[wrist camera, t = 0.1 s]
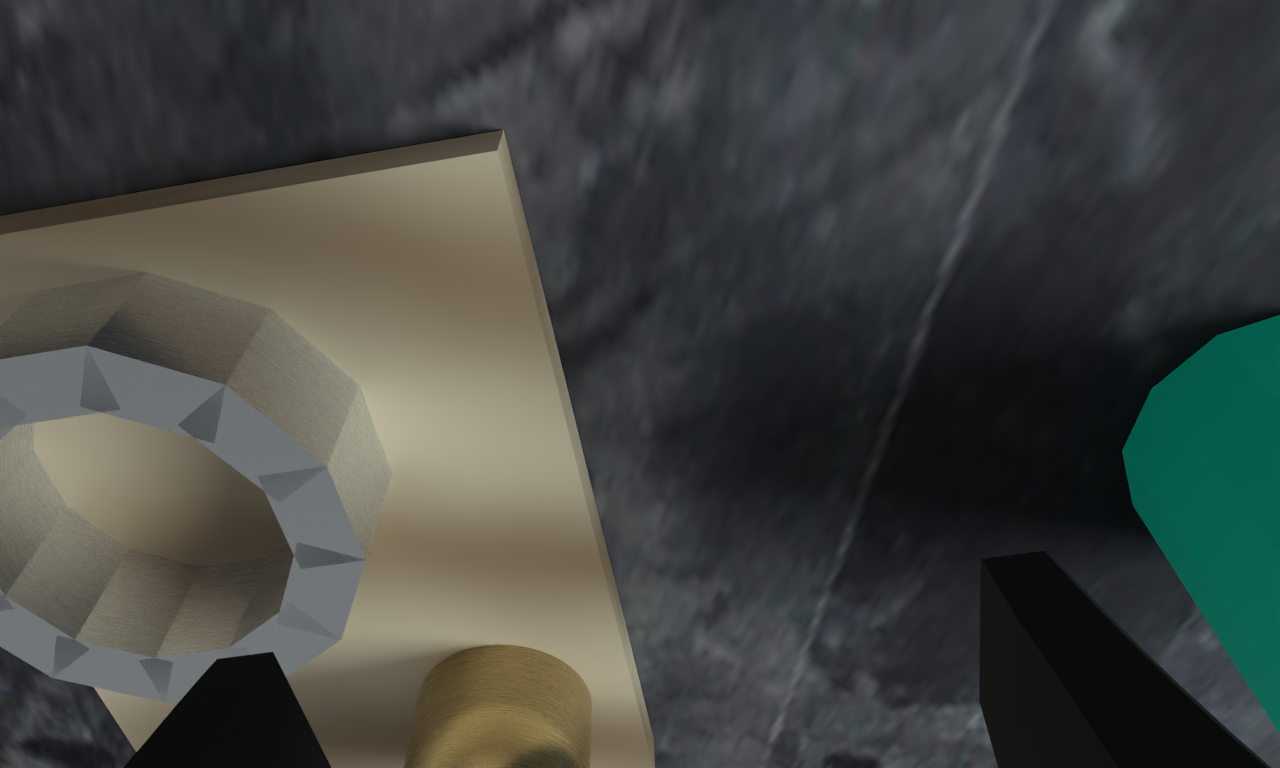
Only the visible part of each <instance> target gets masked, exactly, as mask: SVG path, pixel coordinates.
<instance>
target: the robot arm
mask: <svg viewBox="0 0 1280 768" xmlns="http://www.w3.org/2000/svg"><path fill="white" fill-rule="evenodd" d="M979 701H980V704H981V708H982V712H983V715H984V719H985V722H986V726H987V729H988V733H989V736H990V740H991V743H992V747H993V750H994V754H995V757H996V761H997V764H998V767H999V768H1271V767H1270V766H1268V765H1267V764H1266V763H1265V762H1264V761H1263V760H1262V759H1260V758H1259V757H1258V756H1257V755H1256V754H1255V753H1254V752H1253V751H1251V750H1250V749H1249V748H1248V747H1247V746H1246V745H1245V744H1243V743H1242V742H1241V741H1240V740H1239V739H1238V738H1237V737H1236V736H1234V735H1233V734H1232V733H1231V732H1230V731H1229V730H1228V729H1227V728H1226V727H1225V726H1223V725H1222V724H1221V723H1220V722H1219V721H1218V720H1217V719H1216V718H1215V717H1214V716H1213V715H1212V714H1210V713H1209V712H1208V711H1207V710H1206V709H1205V708H1204V707H1203V706H1202V705H1201V704H1200V703H1199V702H1197V701H1196V700H1195V699H1194V698H1193V697H1192V696H1191V695H1190V694H1189V693H1188V692H1187V691H1186V690H1185V689H1183V688H1182V687H1181V686H1180V685H1179V684H1178V683H1177V682H1176V681H1175V680H1174V679H1173V678H1172V677H1171V676H1170V675H1169V674H1167V673H1166V672H1165V671H1164V670H1163V669H1162V668H1161V667H1160V666H1159V665H1158V664H1157V663H1156V662H1155V661H1154V660H1153V659H1152V658H1151V657H1150V656H1149V655H1148V654H1147V653H1146V652H1145V651H1144V650H1143V649H1142V648H1141V647H1140V646H1139V645H1138V644H1137V643H1136V642H1135V641H1134V640H1133V639H1132V638H1131V637H1130V636H1129V635H1128V634H1127V633H1126V632H1125V631H1124V630H1123V629H1122V628H1121V627H1120V626H1119V625H1118V624H1117V623H1116V622H1115V621H1114V620H1113V619H1112V618H1111V617H1110V616H1109V615H1108V614H1107V613H1106V612H1105V611H1104V610H1103V609H1102V608H1101V607H1100V606H1099V605H1098V604H1097V603H1096V601H1095V600H1094V599H1093V598H1092V597H1091V596H1090V595H1089V594H1088V593H1087V592H1086V591H1085V590H1084V589H1083V588H1082V587H1081V586H1080V585H1079V584H1078V582H1077V581H1076V580H1075V579H1074V578H1073V577H1072V576H1071V575H1070V574H1069V573H1068V572H1067V571H1066V570H1065V569H1064V567H1063V566H1062V565H1061V564H1060V563H1059V562H1058V561H1057V560H1056V559H1055V558H1054V557H1052V556H1051V555H1050V554H1048V553H1047V552H1045V551H1040V552H1032V553H1025V554H1017V555H1009V556H1002V557H994V558H986V559H981V597H980V700H979ZM124 768H331V766H330V764H329V762H328V760H327V758H326V756H325V754H324V752H323V750H322V748H321V746H320V744H319V742H318V740H317V738H316V736H315V734H314V732H313V730H312V728H311V726H310V724H309V722H308V720H307V718H306V716H305V714H304V712H303V710H302V708H301V706H300V704H299V702H298V700H297V698H296V696H295V694H294V692H293V690H292V688H291V686H290V684H289V682H288V680H287V678H286V676H285V674H284V672H283V670H282V668H281V667H280V665H279V663H278V661H277V659H276V657H275V655H274V653H273V652H267V653H259V654H252V655H244V656H236V657H229V658H221V659H217V660H216V661H215V662H214V663H213V664H212V665H211V666H210V667H209V668H208V669H207V671H206V672H205V673H204V674H203V675H202V676H201V677H200V678H199V679H198V681H197V682H196V683H195V684H194V685H193V686H192V688H191V689H190V690H189V691H188V692H187V693H186V694H185V696H184V697H183V698H182V699H181V700H180V702H179V703H178V704H177V705H176V706H175V707H174V709H173V710H172V711H171V712H170V713H169V714H168V716H167V717H166V718H165V719H164V720H163V722H162V723H161V724H160V725H159V726H158V727H157V729H156V730H155V731H154V732H153V733H152V735H151V736H150V737H149V738H148V739H147V740H146V742H145V743H144V744H143V745H142V746H141V748H140V749H139V750H138V751H137V752H136V754H135V755H134V756H133V757H132V758H131V759H130V761H129V762H128V763H127V764H126V765H125V767H124Z"/></svg>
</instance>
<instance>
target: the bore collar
mask: <svg viewBox="0 0 1280 768" xmlns="http://www.w3.org/2000/svg"><path fill="white" fill-rule="evenodd" d="M95 413H105V414H109V415H112V416H116V417H120V418H123V419H127V420H131V421H134V422H138V423H142V424H145V425H149V426H153V427H156V428H160V429H164V430H167V431H171V432H175V433H179V434H182V435H186V436H190V437H193V438H195V439H196V440H198V441H199V442H200V443H202V444H203V445H204V446H206V447H207V448H208V449H209V450H211V451H212V452H213V453H215V454H216V455H217V456H219V457H220V458H221V459H223V460H224V461H225V462H227V463H228V464H229V465H230V466H232V467H233V468H234V469H236V470H237V471H238V472H240V473H241V474H242V475H244V476H245V477H246V478H247V479H249V480H250V481H251V482H253V483H254V484H255V485H257V486H258V487H259V488H261V489H262V490H263V491H264V492H265V494H266V496H267V498H268V500H269V502H270V505H271V507H272V509H273V511H274V513H275V515H276V518H277V520H278V522H279V524H280V526H281V528H282V531H283V533H284V535H285V537H286V539H287V541H288V542H287V543H286V544H285V545H283V546H282V547H281V548H279V549H278V550H277V551H275V552H274V553H273V554H271V555H270V556H269V557H267V558H261V559H254V560H246V561H239V562H232V563H225V564H218V565H211V566H204V567H199V566H195V565H191V564H187V563H183V562H179V561H175V560H171V559H167V558H163V557H159V556H155V555H151V554H147V553H143V552H139V551H135V550H131V549H128V548H127V547H125V546H124V545H122V544H121V543H119V542H118V541H116V540H115V539H113V538H112V537H111V536H109V535H108V534H106V533H105V532H103V531H102V530H100V529H99V528H97V527H96V526H95V525H93V524H92V523H90V522H89V521H87V520H86V519H84V518H83V517H81V516H80V515H79V514H77V513H76V512H74V511H73V510H71V509H70V508H68V507H67V505H66V503H65V502H64V500H63V498H62V497H61V495H60V493H59V492H58V490H57V488H56V487H55V485H54V483H53V482H52V480H51V478H50V477H49V475H48V473H47V472H46V470H45V468H44V467H43V465H42V463H41V462H40V460H39V458H38V456H37V455H36V453H35V451H34V450H33V445H34V432H35V423H36V422H43V421H49V420H56V419H62V418H69V417H76V416H82V415H89V414H95ZM391 476H392V471H391V468H390V466H389V463H388V460H387V458H386V455H385V452H384V450H383V447H382V444H381V442H380V439H379V436H378V434H377V431H376V428H375V426H374V423H373V420H372V417H371V415H370V412H369V409H368V407H367V404H366V401H365V399H364V396H363V393H362V391H361V388H360V385H359V384H358V383H357V382H355V381H354V380H353V379H352V378H351V377H350V376H348V375H347V374H346V373H345V372H344V371H343V370H341V369H340V368H339V367H338V366H337V365H336V364H334V363H333V362H332V361H331V360H330V359H329V358H328V357H326V356H325V355H324V354H323V353H322V352H321V351H319V350H318V349H317V348H316V347H315V346H314V345H312V344H311V343H310V342H309V341H308V340H307V339H305V338H304V337H303V336H302V335H301V334H300V333H298V332H297V331H296V330H295V329H294V328H293V327H291V326H290V325H289V324H288V323H287V322H286V321H284V320H283V319H282V318H281V317H280V316H279V315H277V314H276V313H275V312H274V311H273V310H272V309H270V308H267V307H263V306H260V305H257V304H253V303H250V302H247V301H243V300H240V299H237V298H233V297H230V296H227V295H223V294H220V293H217V292H213V291H210V290H207V289H203V288H200V287H197V286H193V285H190V284H187V283H183V282H180V281H177V280H173V279H170V278H167V277H163V276H160V275H157V274H153V273H150V272H148V273H142V274H136V275H130V276H124V277H117V278H111V279H105V280H99V281H93V282H87V283H81V284H75V285H69V286H63V287H57V288H51V289H44V290H38V291H35V292H34V293H33V294H32V295H31V296H30V297H29V298H28V299H27V300H26V301H25V302H24V303H23V304H22V305H21V306H20V307H19V308H18V309H16V310H15V311H14V312H13V313H12V314H11V315H10V316H9V317H8V318H7V319H6V320H5V321H4V322H3V323H2V324H1V325H0V647H2V648H4V649H5V650H7V651H9V652H10V653H12V654H14V655H15V656H17V657H19V658H20V659H22V660H24V661H25V662H27V663H29V664H30V665H32V666H34V667H35V668H37V669H39V670H40V671H42V672H44V673H45V674H47V675H49V676H50V677H52V678H55V679H60V680H64V681H69V682H73V683H78V684H82V685H87V686H91V687H96V688H100V689H105V690H110V691H114V692H119V693H123V694H128V695H132V696H137V697H141V698H146V699H150V700H155V701H159V702H164V703H168V702H175V701H180V700H181V699H182V698H183V697H184V696H185V694H186V693H187V692H188V691H189V690H190V689H191V688H192V686H193V685H194V684H195V683H196V682H197V681H198V679H199V678H200V677H201V676H202V675H203V674H204V673H205V672H206V671H207V669H208V668H209V667H210V666H211V665H212V664H213V663H214V662H215V661H216V660H217V659H221V658H229V657H236V656H244V655H252V654H259V653H267V652H273V653H274V655H275V657H276V659H277V661H278V663H279V665H280V667H281V668H282V670H283V672H284V674H285V676H286V677H287V676H289V675H290V674H292V673H293V672H295V671H296V670H297V669H299V668H300V667H302V666H303V665H305V664H306V663H308V662H309V661H311V660H312V659H314V658H315V657H316V656H318V655H319V654H321V653H322V652H324V651H325V650H327V649H328V648H330V647H331V646H333V645H334V644H335V643H337V642H338V641H340V640H341V639H342V636H343V633H344V630H345V626H346V623H347V620H348V617H349V613H350V610H351V607H352V604H353V600H354V597H355V594H356V591H357V587H358V584H359V581H360V578H361V574H362V571H363V568H364V564H365V561H366V558H367V555H368V551H369V548H370V545H371V542H372V538H373V535H374V532H375V528H376V525H377V522H378V519H379V515H380V512H381V509H382V506H383V502H384V499H385V496H386V493H387V489H388V486H389V483H390V480H391Z"/></svg>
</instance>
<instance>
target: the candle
mask: <svg viewBox="0 0 1280 768" xmlns="http://www.w3.org/2000/svg"><path fill="white" fill-rule="evenodd" d="M1122 454H1123V459H1124V464H1125V469H1126V474H1127V479H1128V484H1129V489H1130V494H1131V499H1132V504H1133V506H1134V508H1135V510H1136V511H1137V513H1138V514H1139V516H1140V517H1141V519H1142V520H1143V522H1144V524H1145V525H1146V527H1147V528H1148V530H1149V531H1150V533H1151V534H1152V536H1153V538H1154V539H1155V541H1156V542H1157V544H1158V545H1159V547H1160V548H1161V550H1162V552H1163V553H1164V555H1165V556H1166V558H1167V559H1168V561H1169V562H1170V564H1171V566H1172V567H1173V569H1174V570H1175V572H1176V573H1177V575H1178V576H1179V578H1180V580H1181V581H1182V583H1183V584H1184V586H1185V587H1186V589H1187V590H1188V592H1189V594H1190V595H1191V597H1192V598H1193V600H1194V601H1195V603H1196V604H1197V606H1198V608H1199V609H1200V611H1201V612H1202V614H1203V615H1204V617H1205V618H1206V620H1207V622H1208V623H1209V625H1210V626H1211V628H1212V629H1213V631H1214V632H1215V634H1216V636H1217V637H1218V639H1219V640H1220V642H1221V643H1222V645H1223V646H1224V648H1225V650H1226V651H1227V653H1228V654H1229V656H1230V657H1231V659H1232V661H1233V662H1234V664H1235V665H1236V667H1237V668H1238V670H1239V671H1240V673H1241V675H1242V676H1243V678H1244V679H1245V681H1246V682H1247V684H1248V685H1249V687H1250V689H1251V690H1252V692H1253V693H1254V695H1255V696H1256V698H1257V699H1258V701H1259V703H1260V704H1261V706H1262V707H1263V709H1264V710H1265V712H1266V713H1267V715H1268V717H1269V718H1270V720H1271V721H1272V723H1273V724H1274V726H1275V727H1276V729H1277V731H1278V732H1279V734H1280V315H1278V316H1275V317H1271V318H1268V319H1265V320H1262V321H1259V322H1256V323H1253V324H1250V325H1247V326H1244V327H1241V328H1238V329H1234V330H1231V331H1228V332H1225V333H1222V334H1219V335H1217V336H1215V337H1214V338H1213V339H1212V340H1210V341H1209V342H1208V343H1207V344H1206V345H1204V346H1203V347H1202V348H1201V349H1199V350H1198V351H1197V352H1196V353H1195V354H1193V355H1192V356H1191V357H1190V358H1188V359H1187V360H1186V361H1185V362H1184V363H1182V364H1181V365H1180V366H1179V367H1177V368H1176V369H1175V370H1174V371H1173V372H1171V373H1170V374H1169V375H1168V376H1166V377H1165V378H1164V379H1163V380H1162V381H1160V382H1159V383H1158V384H1157V385H1155V386H1154V387H1153V388H1152V389H1151V391H1150V393H1149V395H1148V397H1147V399H1146V401H1145V403H1144V406H1143V408H1142V410H1141V412H1140V414H1139V416H1138V418H1137V420H1136V423H1135V425H1134V427H1133V429H1132V431H1131V433H1130V435H1129V437H1128V439H1127V442H1126V444H1125V446H1124V448H1123V450H1122Z"/></svg>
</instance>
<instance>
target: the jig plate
mask: <svg viewBox="0 0 1280 768" xmlns="http://www.w3.org/2000/svg"><path fill="white" fill-rule="evenodd" d="M148 272H150V273H153V274H157V275H160V276H163V277H167V278H170V279H173V280H177V281H180V282H183V283H187V284H190V285H193V286H197V287H200V288H203V289H207V290H210V291H213V292H217V293H220V294H223V295H227V296H230V297H233V298H237V299H240V300H243V301H247V302H250V303H253V304H257V305H260V306H263V307H267V308H270V309H272V310H273V311H274V312H275V313H276V314H277V315H279V316H280V317H281V318H282V319H283V320H284V321H286V322H287V323H288V324H289V325H290V326H291V327H293V328H294V329H295V330H296V331H297V332H298V333H300V334H301V335H302V336H303V337H304V338H305V339H307V340H308V341H309V342H310V343H311V344H312V345H314V346H315V347H316V348H317V349H318V350H319V351H321V352H322V353H323V354H324V355H325V356H326V357H328V358H329V359H330V360H331V361H332V362H333V363H334V364H336V365H337V366H338V367H339V368H340V369H341V370H343V371H344V372H345V373H346V374H347V375H348V376H350V377H351V378H352V379H353V380H354V381H355V382H357V383H358V384H359V385H360V388H361V391H362V393H363V396H364V399H365V401H366V404H367V407H368V409H369V412H370V415H371V417H372V420H373V423H374V426H375V428H376V431H377V434H378V436H379V439H380V442H381V444H382V447H383V450H384V452H385V455H386V458H387V460H388V463H389V466H390V468H391V471H392V476H391V480H390V483H389V486H388V489H387V493H386V496H385V499H384V502H383V506H382V509H381V512H380V515H379V519H378V522H377V525H376V528H375V532H374V535H373V538H372V542H371V545H370V548H369V551H368V555H367V558H366V561H365V564H364V568H363V571H362V574H361V578H360V581H359V584H358V587H357V591H356V594H355V597H354V600H353V604H352V607H351V610H350V613H349V617H348V620H347V623H346V626H345V630H344V633H343V636H342V639H341V640H340V641H338V642H337V643H335V644H334V645H333V646H331V647H330V648H328V649H327V650H325V651H324V652H322V653H321V654H319V655H318V656H316V657H315V658H314V659H312V660H311V661H309V662H308V663H306V664H305V665H303V666H302V667H300V668H299V669H297V670H296V671H295V672H293V673H292V674H290V675H289V676H287V677H286V678H287V680H288V682H289V684H290V686H291V688H292V690H293V692H294V694H295V696H296V698H297V700H298V702H299V704H300V706H301V708H302V710H303V712H304V714H305V716H306V718H307V720H308V722H309V724H310V726H311V728H312V730H313V732H314V734H315V736H316V738H317V740H318V742H319V744H320V746H321V748H322V750H323V752H324V754H325V756H326V758H327V760H328V762H329V764H330V766H331V768H403V767H404V762H405V757H406V753H407V748H408V743H409V738H410V734H411V729H412V724H413V719H414V715H415V710H416V705H417V700H418V696H419V691H420V688H421V685H422V683H423V681H424V679H425V677H426V676H427V675H428V673H429V672H430V671H431V670H432V669H433V668H434V667H435V666H436V665H437V664H438V663H440V662H441V661H442V660H444V659H446V658H447V657H449V656H451V655H453V654H455V653H458V652H460V651H463V650H466V649H470V648H473V647H479V646H485V645H516V646H523V647H528V648H532V649H536V650H539V651H542V652H545V653H547V654H550V655H552V656H554V657H556V658H558V659H560V660H561V661H563V662H564V663H566V664H567V665H569V666H570V667H571V668H572V669H574V670H575V671H576V672H577V673H578V674H579V675H580V677H581V678H582V679H583V680H584V682H585V684H586V685H587V687H588V689H589V692H590V694H591V699H592V732H591V762H590V768H655V765H654V738H653V734H652V730H651V726H650V722H649V718H648V714H647V710H646V705H645V701H644V697H643V693H642V689H641V685H640V681H639V677H638V673H637V669H636V665H635V661H634V657H633V653H632V649H631V645H630V641H629V637H628V633H627V628H626V624H625V620H624V616H623V612H622V608H621V604H620V600H619V596H618V592H617V588H616V584H615V580H614V576H613V572H612V568H611V564H610V560H609V556H608V551H607V547H606V543H605V539H604V535H603V531H602V527H601V523H600V519H599V515H598V511H597V507H596V503H595V499H594V495H593V491H592V487H591V483H590V479H589V474H588V470H587V466H586V462H585V458H584V454H583V450H582V446H581V442H580V438H579V434H578V430H577V426H576V422H575V418H574V414H573V410H572V406H571V402H570V398H569V393H568V389H567V385H566V381H565V377H564V373H563V369H562V365H561V361H560V357H559V353H558V349H557V345H556V341H555V337H554V333H553V329H552V325H551V321H550V316H549V312H548V308H547V304H546V300H545V296H544V292H543V288H542V284H541V280H540V276H539V272H538V268H537V264H536V260H535V256H534V252H533V248H532V244H531V239H530V235H529V231H528V227H527V223H526V219H525V215H524V211H523V207H522V203H521V199H520V195H519V191H518V187H517V183H516V179H515V175H514V171H513V167H512V162H511V158H510V154H509V150H508V146H507V142H506V138H505V134H504V130H500V131H494V132H488V133H482V134H477V135H471V136H465V137H459V138H453V139H447V140H442V141H436V142H430V143H424V144H418V145H412V146H406V147H401V148H395V149H389V150H383V151H377V152H371V153H365V154H360V155H354V156H348V157H342V158H336V159H330V160H325V161H319V162H313V163H307V164H301V165H295V166H289V167H284V168H278V169H272V170H266V171H260V172H254V173H249V174H243V175H237V176H231V177H225V178H219V179H213V180H208V181H202V182H196V183H190V184H184V185H178V186H172V187H167V188H161V189H155V190H149V191H143V192H137V193H132V194H126V195H120V196H114V197H108V198H102V199H96V200H91V201H85V202H79V203H73V204H67V205H61V206H55V207H50V208H44V209H38V210H32V211H26V212H20V213H15V214H9V215H3V216H0V325H1V324H2V323H3V322H4V321H5V320H6V319H7V318H8V317H9V316H10V315H11V314H12V313H13V312H14V311H15V310H16V309H18V308H19V307H20V306H21V305H22V304H23V303H24V302H25V301H26V300H27V299H28V298H29V297H30V296H31V295H32V294H33V293H34V292H35V291H38V290H44V289H51V288H57V287H63V286H69V285H75V284H81V283H87V282H93V281H99V280H105V279H111V278H117V277H124V276H130V275H136V274H142V273H148ZM33 450H34V451H35V453H36V455H37V456H38V458H39V460H40V462H41V463H42V465H43V467H44V468H45V470H46V472H47V473H48V475H49V477H50V478H51V480H52V482H53V483H54V485H55V487H56V488H57V490H58V492H59V493H60V495H61V497H62V498H63V500H64V502H65V503H66V505H67V507H68V508H70V509H71V510H73V511H74V512H76V513H77V514H79V515H80V516H81V517H83V518H84V519H86V520H87V521H89V522H90V523H92V524H93V525H95V526H96V527H97V528H99V529H100V530H102V531H103V532H105V533H106V534H108V535H109V536H111V537H112V538H113V539H115V540H116V541H118V542H119V543H121V544H122V545H124V546H125V547H127V548H128V549H131V550H135V551H139V552H143V553H147V554H151V555H155V556H159V557H163V558H167V559H171V560H175V561H179V562H183V563H187V564H191V565H195V566H199V567H204V566H211V565H218V564H225V563H232V562H239V561H246V560H254V559H261V558H267V557H269V556H270V555H271V554H273V553H274V552H275V551H277V550H278V549H279V548H281V547H282V546H283V545H285V544H286V543H287V542H288V541H287V539H286V537H285V535H284V533H283V531H282V528H281V526H280V524H279V522H278V520H277V518H276V515H275V513H274V511H273V509H272V507H271V505H270V502H269V500H268V498H267V496H266V494H265V492H264V491H263V490H262V489H261V488H259V487H258V486H257V485H255V484H254V483H253V482H251V481H250V480H249V479H247V478H246V477H245V476H244V475H242V474H241V473H240V472H238V471H237V470H236V469H234V468H233V467H232V466H230V465H229V464H228V463H227V462H225V461H224V460H223V459H221V458H220V457H219V456H217V455H216V454H215V453H213V452H212V451H211V450H209V449H208V448H207V447H206V446H204V445H203V444H202V443H200V442H199V441H198V440H196V439H195V438H193V437H190V436H186V435H182V434H179V433H175V432H171V431H167V430H164V429H160V428H156V427H153V426H149V425H145V424H142V423H138V422H134V421H131V420H127V419H123V418H120V417H116V416H112V415H109V414H105V413H95V414H89V415H82V416H76V417H69V418H62V419H56V420H49V421H43V422H36V423H35V432H34V445H33ZM94 688H95V690H96V691H97V693H98V695H99V696H100V698H101V699H102V701H103V702H104V704H105V705H106V707H107V708H108V710H109V711H110V713H111V714H112V716H113V717H114V719H115V720H116V722H117V723H118V725H119V726H120V728H121V729H122V731H123V733H124V734H125V736H126V737H127V739H128V740H129V742H130V743H131V745H132V746H133V748H134V749H135V751H136V752H137V751H138V750H139V749H140V748H141V746H142V745H143V744H144V743H145V742H146V740H147V739H148V738H149V737H150V736H151V735H152V733H153V732H154V731H155V730H156V729H157V727H158V726H159V725H160V724H161V723H162V722H163V720H164V719H165V718H166V717H167V716H168V714H169V713H170V712H171V711H172V710H173V709H174V707H175V706H176V705H177V704H178V703H179V702H180V701H175V702H168V703H164V702H159V701H155V700H150V699H146V698H141V697H137V696H132V695H128V694H123V693H119V692H114V691H110V690H105V689H100V688H96V687H94Z"/></svg>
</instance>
